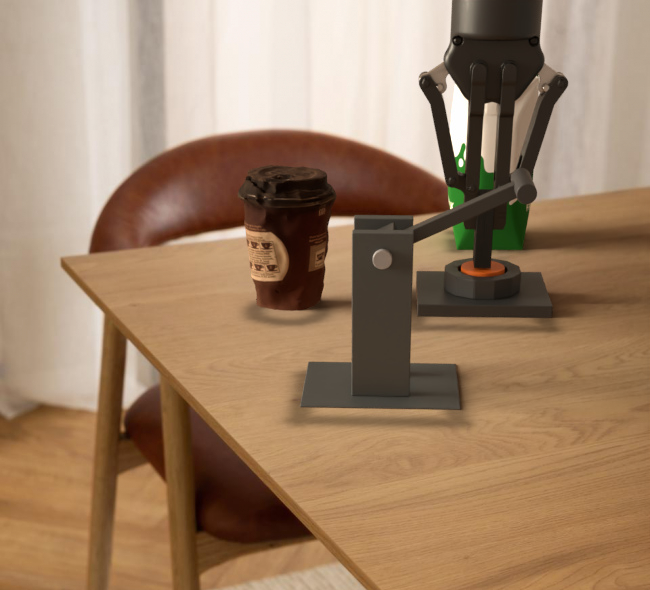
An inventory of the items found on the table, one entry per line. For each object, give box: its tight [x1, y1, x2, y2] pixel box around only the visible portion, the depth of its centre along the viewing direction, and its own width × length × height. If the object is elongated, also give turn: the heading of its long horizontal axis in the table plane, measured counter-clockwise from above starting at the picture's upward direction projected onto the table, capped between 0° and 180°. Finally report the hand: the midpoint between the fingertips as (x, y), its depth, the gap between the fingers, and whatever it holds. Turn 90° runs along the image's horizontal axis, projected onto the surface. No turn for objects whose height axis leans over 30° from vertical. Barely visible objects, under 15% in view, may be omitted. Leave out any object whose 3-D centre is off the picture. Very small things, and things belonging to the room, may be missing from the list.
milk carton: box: [447, 75, 540, 251], centre depth 126 cm, size 9×9×20 cm
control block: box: [415, 257, 554, 319], centre depth 110 cm, size 12×10×4 cm
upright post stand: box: [299, 214, 461, 411], centre depth 90 cm, size 12×9×14 cm
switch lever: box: [377, 168, 538, 244], centre depth 86 cm, size 13×5×2 cm, turn 87°
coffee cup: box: [237, 164, 337, 312], centre depth 108 cm, size 9×8×13 cm
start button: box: [461, 261, 505, 277], centre depth 109 cm, size 4×4×2 cm
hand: (481, 263), depth 109 cm, fingers closed
